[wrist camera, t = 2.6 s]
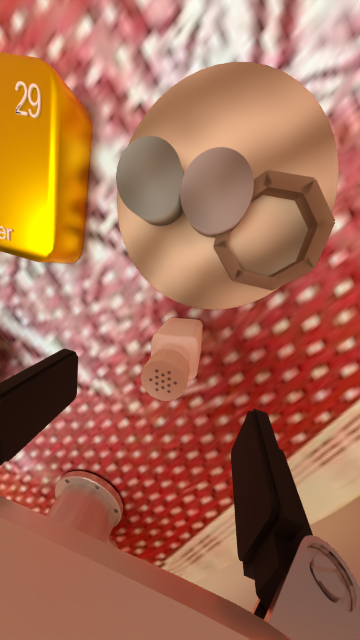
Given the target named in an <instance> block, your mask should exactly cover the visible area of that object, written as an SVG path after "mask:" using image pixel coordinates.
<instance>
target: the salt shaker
mask: <svg viewBox="0 0 360 640" xmlns="http://www.w3.org/2000/svg"><path fill="white" fill-rule="evenodd" d="M202 330H203V324H202V322H201V321H200V320H198V319H185V318H170V319H168V320H167V321H166V322H165V323H164V324H163V325H162V327H161V328H160V329H159V330H158V331H157V332H156V333H155V334H154V336H153V338H152V343H151V357H150V359H149V360H148V362H147V363H146V364H145V366H144V367H143V370H142V374H141V377H140V378H141V381H142V384H143V388H144V389H145V390H146V391H147V392H148V393H149V394H150V395H151V396H152V397H154V398H156V399H159V400H161V401H171V400H175V399H177V398H178V397H180V396H181V395H182V394H183V393H184V391H185V388H186V385H187V382H188V380H190V379H193V378H195V376H196V375H197V370H198V365H199V359H200V353H201V345H202Z"/></svg>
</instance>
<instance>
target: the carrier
mask: <svg viewBox="0 0 360 640" xmlns="http://www.w3.org/2000/svg"><path fill="white" fill-rule="evenodd" d="M116 182H117V189H118V191H117V210H118V220H119V226H120V231H121V234H122V238H123V241H124V244H125V246H126V249H127V251H128V254H129V256H130V257H131V259H132V261H133V263H134V265H135V266H136V268H137V269H138V270H139V272H140V273H141V275H142V276H143V277H144V278H145V279H146V280H147V281H148V282H149V283H150V284H151V285H152V286H153V287H154V288H155V289H157V290H158V291H159V292H161V293H162V294H164V295H165V296H167V297H168V298H170V299H172V300H174V301H176V302H178V303H181V304H184V305H187V306H190V307H195V308H200V309H211V310H217V309H229V308H234V307H239V306H243V305H246V304H249V303H252V302H254V301H256V300H259V299H261V298H263V297H265V296H267V295H268V294H270V293H272V292H273V291H275V290H277V289H278V288H279V287H281V286H283V285H285V284H287V283H289V282H290V281H292V280H294V279H296V278H298V277H300V276H302V275H304V274H306V273H307V272H309V271H311V270H313V269H314V268H315V267H316V265H317V263H318V261H319V258H320V256H321V254H322V251H323V249H324V247H325V244H326V242H327V240H328V237H329V235H330V233H331V231H332V228H333V226H334V224H335V222H334V221H335V219H334V217H333V215H332V212H333V208H334V203H335V199H336V194H337V185H338V155H337V149H336V144H335V138H334V135H333V132H332V129H331V126H330V123H329V121H328V119H327V117H326V115H325V113H324V111H323V110H322V108H321V106H320V105H319V103H318V102H317V101H316V99H315V98H314V97H313V95H312V94H311V93H310V92H309V91H308V90H307V89H306V88H305V87H304V86H303V85H302V84H301V83H300V82H298V81H297V80H296V79H294V78H292V77H291V76H289V75H288V74H286V73H285V72H283V71H280V70H278V69H275V68H273V67H270V66H268V65H262V64H257V63H252V62H231V63H225V64H218V65H215V66H212V67H209V68H205V69H202V70H200V71H198V72H196V73H194V74H192V75H190V76H188V77H186V78H184V79H183V80H181V81H180V82H179V83H177V84H176V85H174V86H173V87H171V88H170V89H169V90H168V91H167V92H166V93H165V94H164V95H162V96H161V97H160V98H159V99H158V100H157V101H156V103H155V104H154V105H153V106H152V107H151V108H150V110H149V111H148V112H147V113H146V115H145V116H144V118H143V119H142V121H141V122H140V124H139V125H138V127H137V129H136V131H135V132H134V134H133V136H132V138H131V140H130V142H129V145H128V147H127V148H126V149H125V151H124V152H123V154H122V156H121V158H120V160H119V163H118V167H117V173H116Z"/></svg>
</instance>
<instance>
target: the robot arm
mask: <svg viewBox="0 0 360 640" xmlns="http://www.w3.org/2000/svg"><path fill="white" fill-rule="evenodd" d="M77 375H78V356H77V355H76V352H74V351H71V350H68V349H62V350H60V351H58V352H57V353H55V354H53V355H51V356H49V357H47V358H46V359H44V360H42V361H40V362H38V363H36V364H35V365H33V366H31V367H29V368H27V369H25V370H23V371H22V372H20V373H18V374H16V375H14V376H12V377H11V378H9V379H7V380H5V381H3V382H1V383H0V466H1V465H2V464H3V463H4V462H5V461H9V460H10V459H12V458H13V457H14V456H15V455H16V454H17V453H18V452H19V451H20V450H21V449H22V448H24V447H25V446H26V445H27V444H28V443H29V442H30V441H31V440H32V439H33V438H34V437H35V436H36V435H37V434H38V433H39V432H41V431H42V430H43V429H44V428H45V427H46V426H47V425H48V424H49V423H50V422H51V421H52V420H53V419H54V418H55V417H57V416H58V415H59V414H60V413H61V412H62V411H63V410H64V409H65V408H66V407H67V406H68V405H69V404H70V403H71V402H72V401H73V400H74V399H75V397H76V395H77ZM231 464H232V478H233V493H234V507H235V522H236V536H237V551H238V557H239V560H240V561H242V562H243V569H244V576H247V577H249V578H251V579H254V580H255V587H256V594H257V596H258V600H257V602H256V604H255V606H254V608H253V610H252V612H249V611H247V610H245V609H244V608H242V607H240V606H238V605H237V604H235V603H233V602H230V601H228V600H226V599H224V598H222V597H220V596H218V595H216V594H214V593H212V592H210V591H208V590H206V589H203V588H202V587H200V586H198V585H196V584H193V583H191V582H189V581H187V580H185V579H183V578H181V577H179V576H177V575H174V574H172V573H170V572H168V571H166V570H163V569H161V568H159V567H157V566H155V565H153V564H150V563H148V562H146V561H144V560H142V559H139V558H137V557H135V556H133V555H131V554H129V553H126V552H124V551H122V550H120V549H118V548H117V544H116V543H115V542H114V541H113V540H112V539H111V538H110V533H111V531H112V528H113V527H115V526H116V525H117V524H118V523H119V522H120V519H121V517H122V514H123V503H122V500H121V498H120V496H119V494H118V493H117V491H116V490H115V489H114V488H113V487H112V486H111V485H110V484H109V483H108V482H106V481H105V480H104V479H102V478H100V477H99V476H97V475H94V474H92V473H88V472H85V471H72V472H68V473H66V474H64V475H63V476H62V477H61V478H60V480H59V481H58V483H57V484H56V487H55V496H56V501H55V503H54V504H53V506H52V507H51V508H50V510H49V511H48V513H47V514H46V516H44V515H42V514H40V513H38V512H35V511H33V510H31V509H29V508H26V507H24V506H22V505H20V504H17V503H15V502H13V501H11V500H8V499H6V498H4V497H2V496H0V640H360V588H359V586H358V584H357V582H356V579H355V577H354V575H353V574H352V572H351V571H350V569H349V567H348V566H347V564H346V563H345V561H344V560H343V559H342V558H341V556H340V555H339V554H338V553H337V552H336V551H335V550H334V549H333V548H332V547H331V546H330V545H329V544H328V543H327V542H325V541H324V540H322V539H320V538H319V537H316V536H313V534H312V531H311V529H310V526H309V523H308V520H307V517H306V514H305V511H304V509H303V506H302V503H301V500H300V497H299V494H298V492H297V489H296V486H295V483H294V480H293V477H292V474H291V472H290V469H289V466H288V463H287V460H286V457H285V455H284V453H283V451H282V450H281V449H279V447H278V444H277V441H276V438H275V435H274V432H273V429H272V426H271V423H270V420H269V417H268V414H267V413H265V412H262V411H259V410H256V409H254V410H253V411H249V412H248V414H247V416H246V418H245V421H244V423H243V425H242V428H241V430H240V432H239V434H238V437H237V439H236V441H235V443H234V446H233V448H232V452H231Z"/></svg>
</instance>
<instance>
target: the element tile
mask: <svg viewBox="0 0 360 640" xmlns="http://www.w3.org/2000/svg"><path fill="white" fill-rule="evenodd" d="M91 140H92V125H91V120H90V116H89V114H88V112H87V110H86V109H85V107H84V106H83V105H82V103H81V102H80V101H79V100H78V98H77V97H76V96H75V95H74V93H73V92H72V91H71V90H70V88H69V87H68V86H67V85H66V83H65V82H64V81H63V80H62V78H61V77H60V76H59V75H58V73H57V72H56V71H55V70H54V69H53V68H52V67H51V66H50V65H49V64H47V63H46V62H45V61H44V60H41V59H39V58H35V57H29V56H22V55H16V54H9V53H3V52H0V251H2V252H5V253H9V254H12V255H15V256H19V257H22V258H26V259H29V260H33V261H36V262H48V263H74V262H76V261H77V260H78V259H79V258H80V256H81V254H82V250H83V239H84V227H85V214H86V202H87V189H88V177H89V164H90V152H91Z"/></svg>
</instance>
